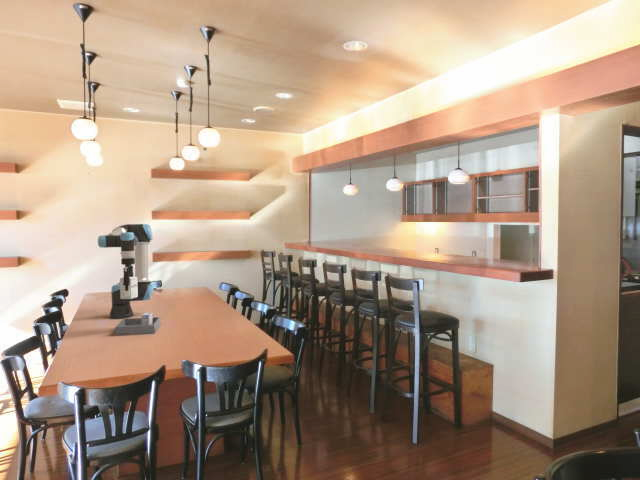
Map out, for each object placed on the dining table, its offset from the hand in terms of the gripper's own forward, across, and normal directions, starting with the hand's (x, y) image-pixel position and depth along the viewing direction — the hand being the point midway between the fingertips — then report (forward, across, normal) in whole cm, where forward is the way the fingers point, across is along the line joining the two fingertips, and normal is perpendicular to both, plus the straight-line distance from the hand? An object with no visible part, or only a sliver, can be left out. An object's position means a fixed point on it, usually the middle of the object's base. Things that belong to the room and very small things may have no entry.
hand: (129, 294), depth 269 cm
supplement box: (+2, 0, 0) cm, 2 cm away
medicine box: (+21, 0, +10) cm, 23 cm away
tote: (+22, 0, +5) cm, 23 cm away
